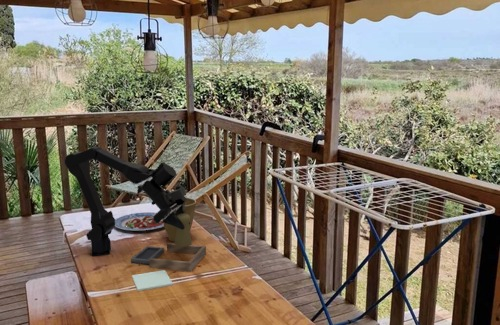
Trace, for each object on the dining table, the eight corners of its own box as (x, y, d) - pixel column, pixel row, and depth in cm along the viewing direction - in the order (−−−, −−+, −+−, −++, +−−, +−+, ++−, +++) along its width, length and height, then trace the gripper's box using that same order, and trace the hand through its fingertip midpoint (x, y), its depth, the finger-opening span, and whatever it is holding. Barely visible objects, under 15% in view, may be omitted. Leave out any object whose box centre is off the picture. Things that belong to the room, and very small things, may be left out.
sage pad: (137, 291, 138) (137, 289, 138) (132, 277, 148) (131, 275, 148) (172, 285, 142) (172, 283, 142) (164, 271, 152) (164, 270, 152)
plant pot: (201, 242, 180) (201, 203, 178) (165, 247, 174) (164, 208, 171) (189, 230, 194) (189, 195, 191) (156, 235, 187) (154, 199, 184)
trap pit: (131, 263, 159) (130, 259, 159) (147, 250, 171) (147, 246, 171) (149, 265, 157) (149, 260, 157) (164, 251, 170) (164, 247, 170)
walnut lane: (149, 267, 156) (149, 259, 155) (168, 250, 171) (168, 242, 171) (190, 271, 152) (190, 263, 152) (206, 253, 168) (205, 246, 168)
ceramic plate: (160, 213, 219) (160, 207, 218) (180, 228, 197) (180, 222, 197) (106, 222, 205) (106, 215, 205) (123, 238, 184) (122, 231, 183)
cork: (188, 247, 157) (188, 217, 155) (172, 245, 158) (171, 216, 156) (193, 241, 163) (193, 212, 161) (178, 240, 164) (177, 211, 162)
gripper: (161, 185, 148) (192, 220, 148) (181, 174, 166) (210, 205, 165) (139, 206, 151) (170, 240, 151) (162, 193, 169) (190, 223, 169)
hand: (186, 226), depth 159 cm, fingers closed on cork, 5 cm apart
